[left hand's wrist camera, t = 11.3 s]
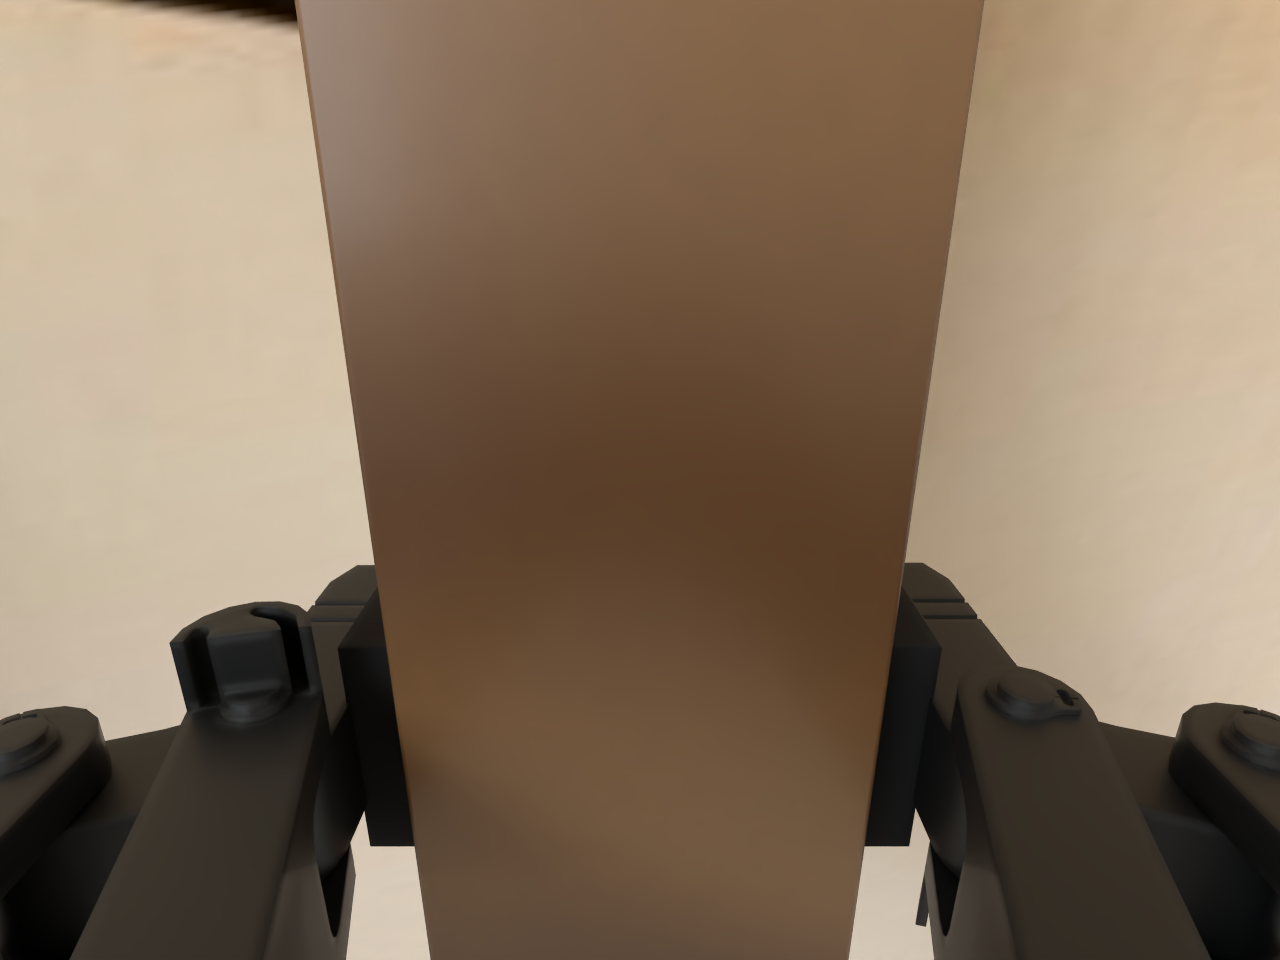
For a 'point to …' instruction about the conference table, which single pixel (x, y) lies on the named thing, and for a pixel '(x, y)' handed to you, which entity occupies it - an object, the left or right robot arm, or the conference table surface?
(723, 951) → the bar
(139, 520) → the conference table surface
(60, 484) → the conference table surface
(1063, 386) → the conference table surface
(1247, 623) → the conference table surface
